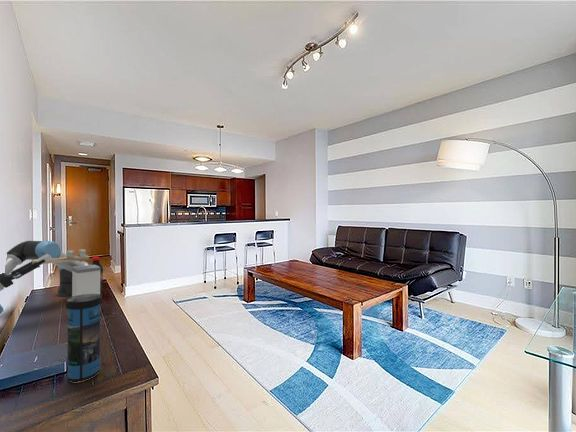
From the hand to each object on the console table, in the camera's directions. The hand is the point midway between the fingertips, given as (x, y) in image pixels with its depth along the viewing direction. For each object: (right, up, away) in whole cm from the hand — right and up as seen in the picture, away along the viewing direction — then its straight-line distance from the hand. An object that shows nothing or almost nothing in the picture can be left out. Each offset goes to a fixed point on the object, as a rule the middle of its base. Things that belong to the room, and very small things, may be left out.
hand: (50, 256), depth 163 cm
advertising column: (+58, -38, -54) cm, 88 cm away
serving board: (+3, -4, +4) cm, 7 cm away
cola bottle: (-1, -36, +41) cm, 54 cm away
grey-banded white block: (+11, -37, +14) cm, 41 cm away
